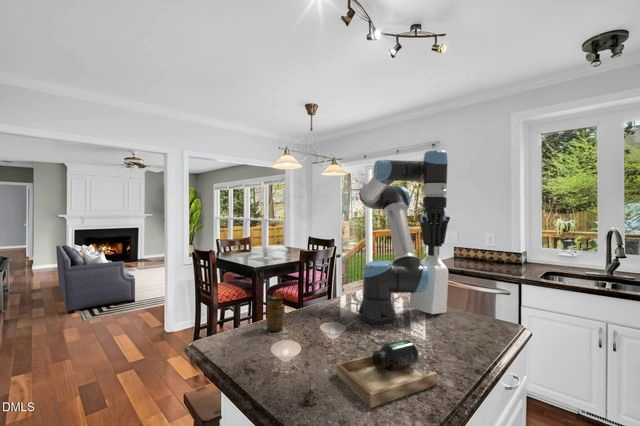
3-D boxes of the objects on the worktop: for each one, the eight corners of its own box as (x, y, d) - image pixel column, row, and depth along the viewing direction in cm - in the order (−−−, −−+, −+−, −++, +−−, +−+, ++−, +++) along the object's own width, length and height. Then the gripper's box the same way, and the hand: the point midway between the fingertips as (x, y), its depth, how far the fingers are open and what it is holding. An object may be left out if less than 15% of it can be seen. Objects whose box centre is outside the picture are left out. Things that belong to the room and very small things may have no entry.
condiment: (281, 324, 122) (281, 293, 122) (288, 332, 114) (289, 299, 114) (262, 327, 119) (262, 296, 119) (269, 336, 111) (269, 302, 111)
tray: (395, 358, 96) (395, 348, 96) (436, 384, 82) (437, 373, 82) (335, 374, 86) (335, 363, 86) (370, 408, 72) (371, 395, 72)
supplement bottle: (410, 335, 92) (376, 342, 86) (422, 358, 87) (388, 367, 82) (399, 346, 96) (366, 354, 91) (410, 368, 92) (377, 378, 86)
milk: (423, 305, 148) (428, 250, 150) (446, 312, 139) (452, 253, 141) (408, 307, 140) (414, 248, 142) (431, 314, 131) (438, 251, 133)
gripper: (429, 195, 101) (428, 268, 102) (457, 196, 107) (455, 265, 108) (412, 196, 108) (411, 264, 108) (439, 197, 114) (438, 261, 115)
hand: (433, 264), depth 108 cm, fingers closed
